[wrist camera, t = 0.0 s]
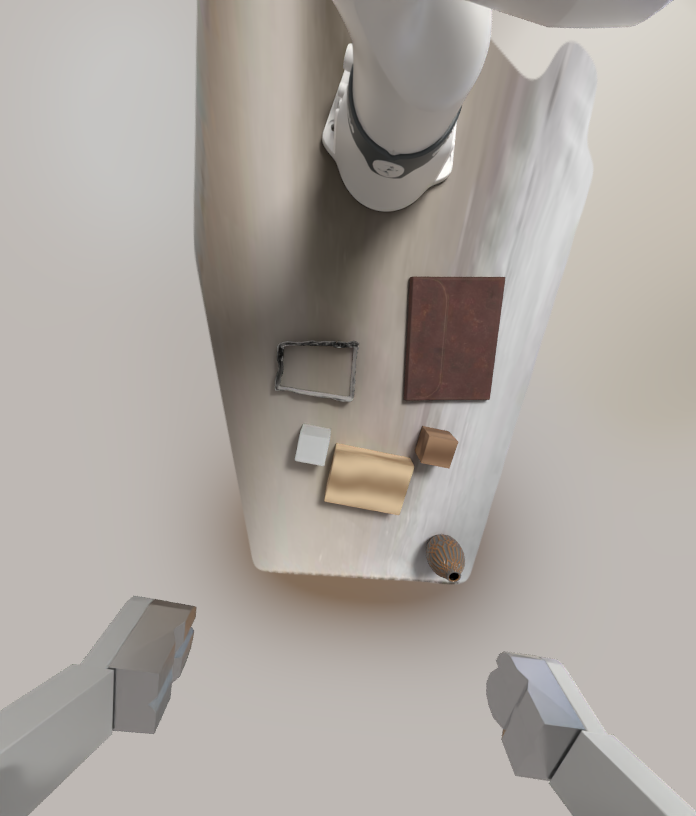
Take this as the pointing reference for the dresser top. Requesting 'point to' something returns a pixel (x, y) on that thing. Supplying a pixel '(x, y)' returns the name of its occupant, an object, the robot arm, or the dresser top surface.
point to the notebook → (452, 337)
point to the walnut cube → (436, 447)
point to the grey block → (313, 444)
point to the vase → (445, 557)
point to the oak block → (368, 479)
